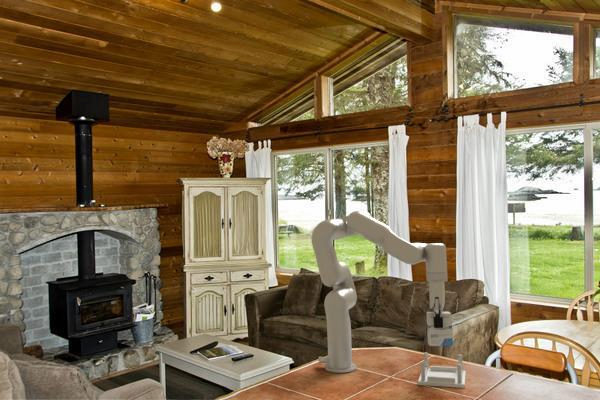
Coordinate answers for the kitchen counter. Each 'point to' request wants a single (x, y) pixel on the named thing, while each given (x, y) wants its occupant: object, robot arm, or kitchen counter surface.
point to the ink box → (440, 330)
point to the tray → (442, 374)
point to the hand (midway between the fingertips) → (439, 325)
